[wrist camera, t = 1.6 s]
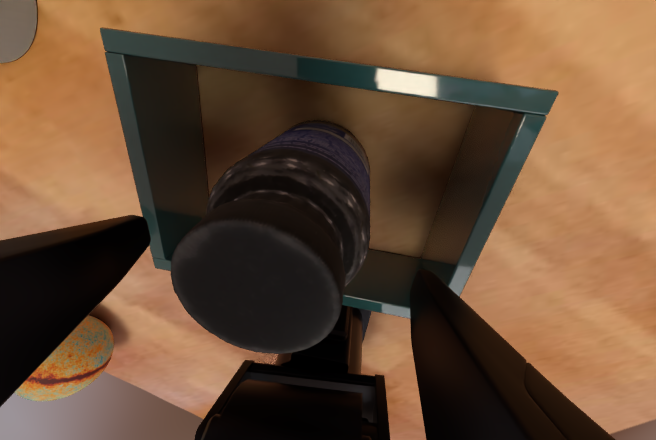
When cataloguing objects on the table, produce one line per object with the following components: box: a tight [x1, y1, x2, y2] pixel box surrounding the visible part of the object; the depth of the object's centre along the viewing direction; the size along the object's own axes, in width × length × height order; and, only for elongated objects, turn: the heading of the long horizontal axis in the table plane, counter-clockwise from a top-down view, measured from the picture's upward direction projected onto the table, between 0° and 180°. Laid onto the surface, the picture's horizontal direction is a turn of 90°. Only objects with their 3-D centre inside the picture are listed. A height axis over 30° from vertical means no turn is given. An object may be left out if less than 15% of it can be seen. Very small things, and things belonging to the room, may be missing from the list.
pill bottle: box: [171, 120, 370, 354], centre depth 12 cm, size 6×6×11 cm
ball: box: [14, 316, 114, 401], centre depth 24 cm, size 7×7×7 cm
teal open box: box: [100, 28, 558, 319], centre depth 14 cm, size 12×17×5 cm
